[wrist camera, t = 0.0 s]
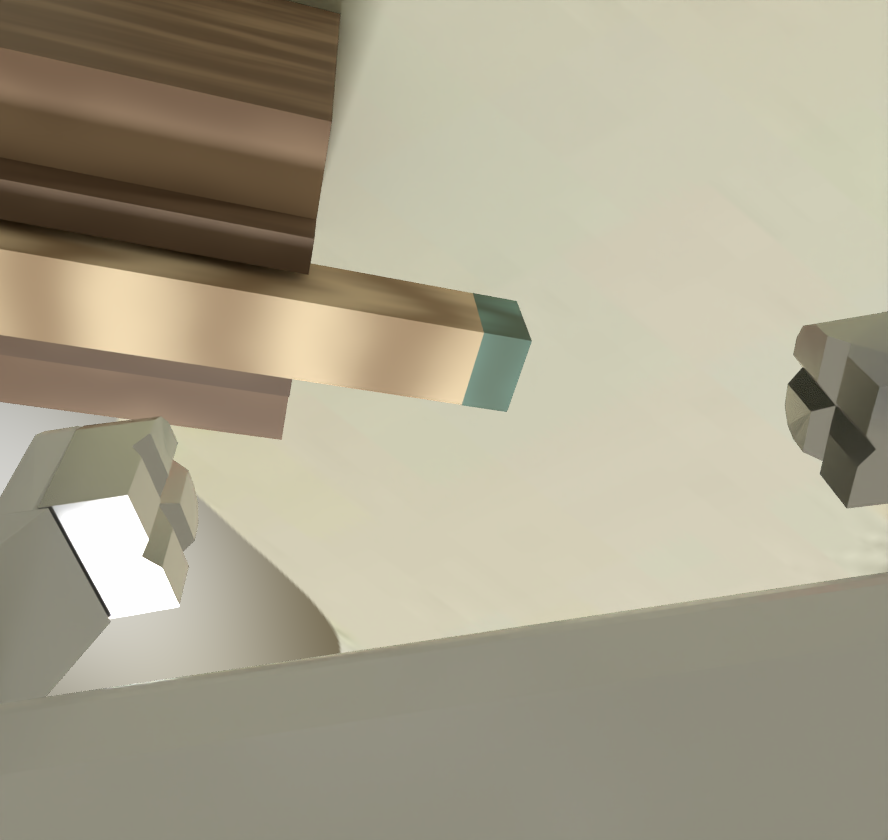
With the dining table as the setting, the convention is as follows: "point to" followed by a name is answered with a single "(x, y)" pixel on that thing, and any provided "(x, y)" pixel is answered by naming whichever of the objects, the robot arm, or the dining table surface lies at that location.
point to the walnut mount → (164, 171)
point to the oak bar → (260, 317)
